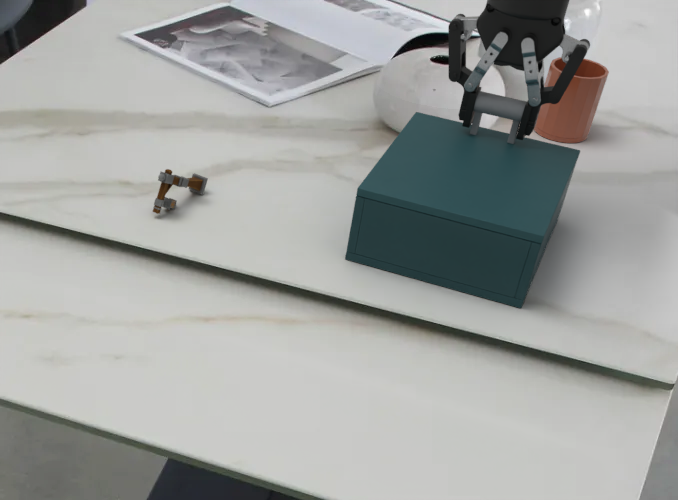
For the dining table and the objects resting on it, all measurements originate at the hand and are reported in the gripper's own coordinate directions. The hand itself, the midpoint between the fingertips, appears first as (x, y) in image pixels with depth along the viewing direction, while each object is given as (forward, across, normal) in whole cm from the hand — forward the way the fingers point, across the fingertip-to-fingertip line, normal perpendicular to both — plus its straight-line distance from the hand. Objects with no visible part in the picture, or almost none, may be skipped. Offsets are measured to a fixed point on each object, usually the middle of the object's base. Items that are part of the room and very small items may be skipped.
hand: (493, 130), depth 108 cm
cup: (+9, -5, -26) cm, 27 cm away
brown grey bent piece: (+9, +28, +16) cm, 34 cm away
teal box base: (+9, 0, +8) cm, 12 cm away
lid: (+2, 0, +8) cm, 8 cm away
